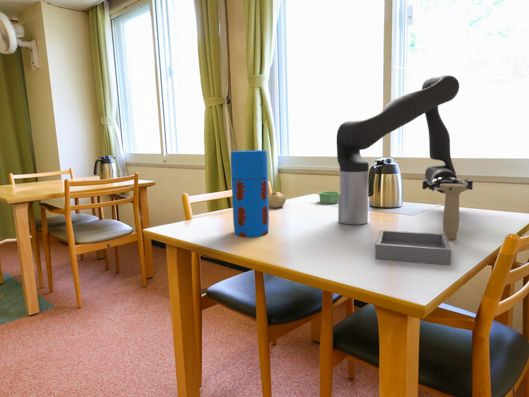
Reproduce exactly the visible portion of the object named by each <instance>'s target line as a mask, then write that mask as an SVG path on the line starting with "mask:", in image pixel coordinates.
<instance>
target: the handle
mask: <svg viewBox="0 0 529 397" xmlns="http://www.w3.org/2000/svg"><path fill="white" fill-rule="evenodd" d="M440 189H441V190H442V191H444V192H445V193H444V195H445V196H444V197H445V199H444V205H443V206H444V207H443V213H442V214H443V215H442V217H443V218H442V230H443V234H446V237H447V239H448V241H451V240H452V241H453V240H454V241H455V240H457V237H458V232H459V226H460V194H462V193H463V192H466V191H467V190H466V185H464V184H440ZM465 190H466V191H465Z"/></svg>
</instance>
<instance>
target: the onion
mask: <svg viewBox="0 0 529 397" xmlns="http://www.w3.org/2000/svg"><path fill="white" fill-rule="evenodd" d="M285 203H286V197H285V195H284V194H283V193H282V192H279V191H272V192H271V193H270V194H269V193H268V208H273V209H275V208H282V207H284V205H285Z"/></svg>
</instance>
